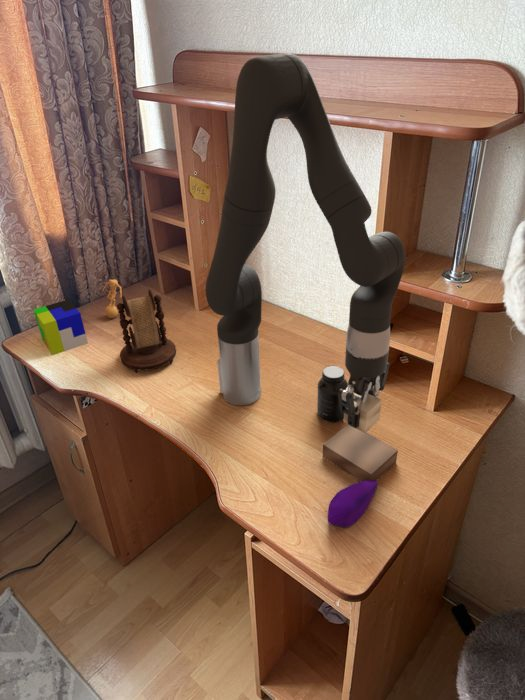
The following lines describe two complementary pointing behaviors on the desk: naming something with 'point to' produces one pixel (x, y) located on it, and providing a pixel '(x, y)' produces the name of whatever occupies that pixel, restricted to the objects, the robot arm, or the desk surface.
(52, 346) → the puzzle toy
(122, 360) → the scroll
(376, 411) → the oak cube
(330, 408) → the supplement bottle
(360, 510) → the purple teardrop shape
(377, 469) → the walnut slab
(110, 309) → the figurine
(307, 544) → the desk surface
